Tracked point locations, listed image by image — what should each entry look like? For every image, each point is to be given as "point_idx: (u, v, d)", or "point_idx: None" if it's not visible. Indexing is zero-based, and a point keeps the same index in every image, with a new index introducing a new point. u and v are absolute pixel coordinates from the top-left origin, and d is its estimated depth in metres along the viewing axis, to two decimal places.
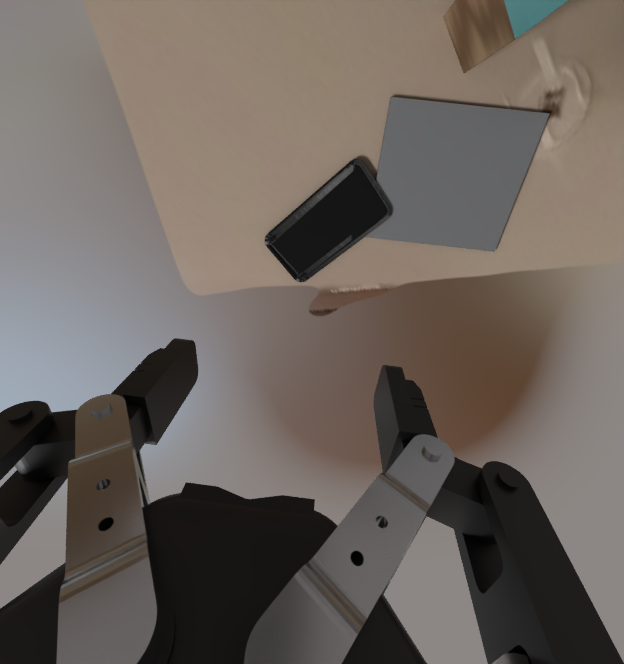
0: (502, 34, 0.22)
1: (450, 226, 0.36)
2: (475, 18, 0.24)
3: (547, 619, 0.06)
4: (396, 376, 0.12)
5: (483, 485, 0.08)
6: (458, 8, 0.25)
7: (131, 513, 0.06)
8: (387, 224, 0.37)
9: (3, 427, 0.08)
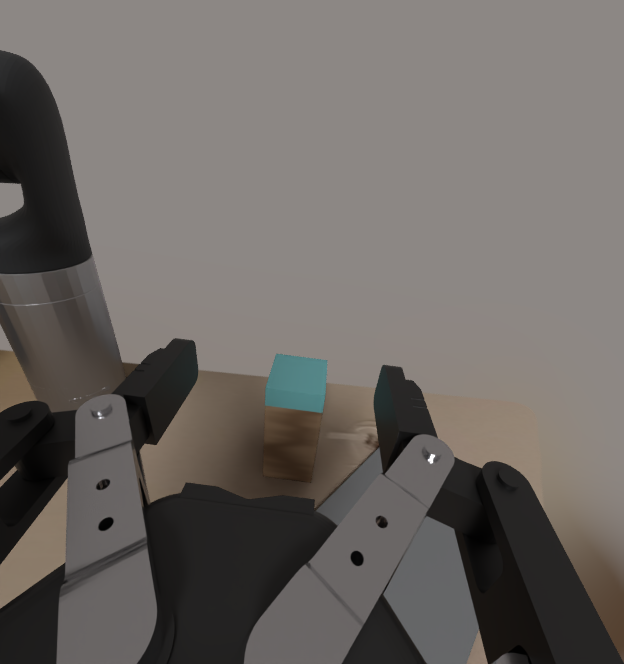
0: (312, 422, 0.27)
1: (458, 574, 0.25)
2: (286, 442, 0.28)
3: (547, 619, 0.06)
4: (396, 376, 0.12)
5: (483, 485, 0.08)
6: (270, 455, 0.30)
7: (131, 513, 0.06)
8: None
9: (3, 427, 0.08)
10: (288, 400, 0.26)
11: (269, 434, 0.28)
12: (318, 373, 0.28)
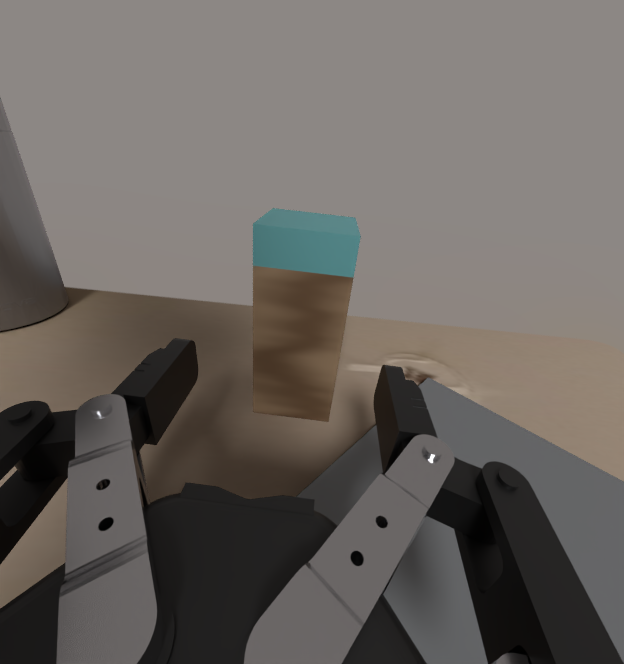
0: (335, 300, 0.16)
1: (606, 559, 0.14)
2: (290, 344, 0.17)
3: (547, 619, 0.06)
4: (396, 376, 0.12)
5: (483, 485, 0.08)
6: (263, 372, 0.18)
7: (130, 513, 0.06)
8: None
9: (3, 427, 0.08)
10: (294, 251, 0.15)
11: (261, 330, 0.17)
12: (343, 223, 0.16)
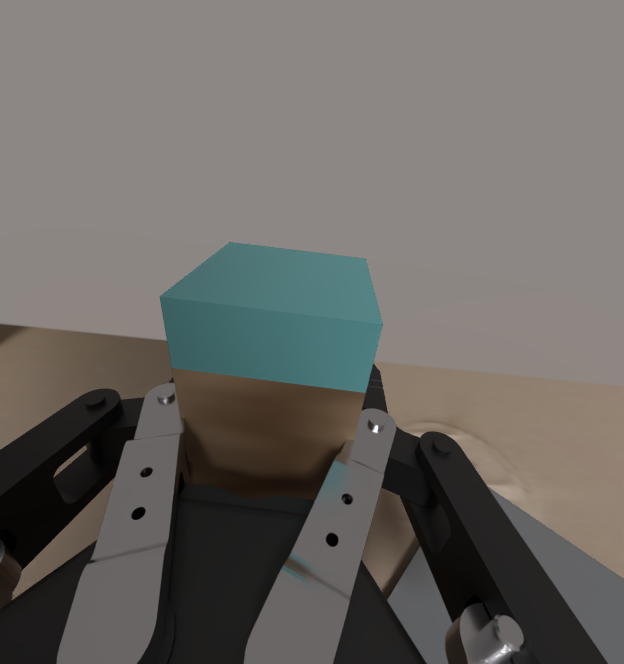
0: (331, 426, 0.08)
1: None
2: (254, 482, 0.10)
3: (494, 566, 0.06)
4: None
5: (423, 457, 0.08)
6: None
7: (161, 509, 0.06)
8: None
9: (80, 410, 0.09)
10: (249, 347, 0.07)
11: (202, 462, 0.10)
12: (346, 276, 0.09)
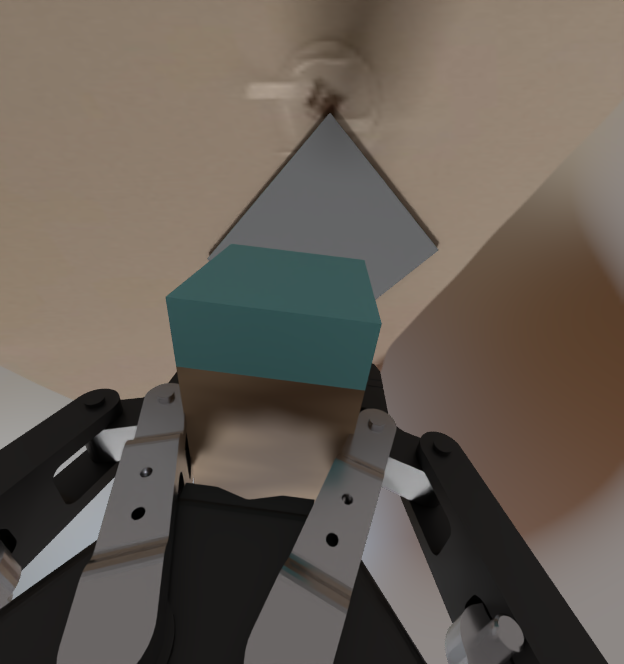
0: (331, 423, 0.09)
1: None
2: (255, 478, 0.10)
3: (494, 566, 0.06)
4: None
5: (423, 457, 0.08)
6: None
7: (161, 509, 0.06)
8: None
9: (80, 410, 0.09)
10: (252, 346, 0.07)
11: (205, 459, 0.10)
12: (345, 278, 0.09)
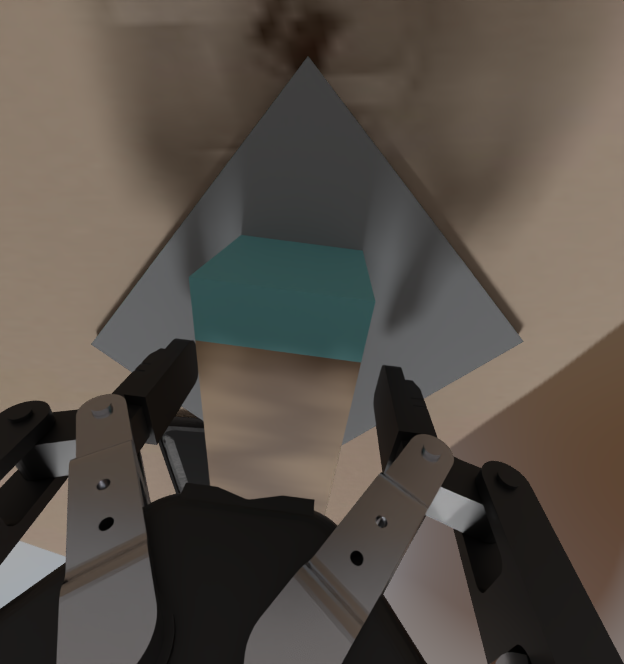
0: (331, 393, 0.10)
1: None
2: (262, 446, 0.11)
3: (547, 619, 0.06)
4: (396, 376, 0.12)
5: (483, 485, 0.08)
6: (224, 478, 0.12)
7: (131, 513, 0.06)
8: None
9: (4, 427, 0.08)
10: (262, 321, 0.09)
11: (217, 427, 0.11)
12: (345, 265, 0.10)
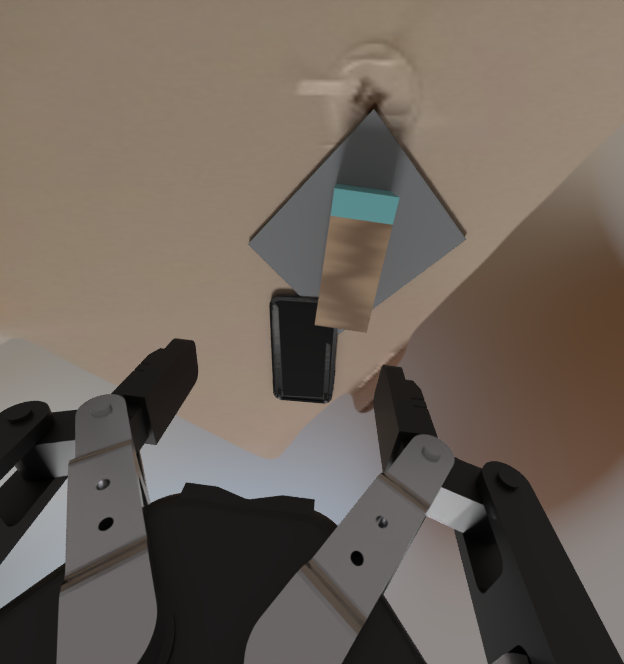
0: (380, 240, 0.25)
1: (396, 263, 0.30)
2: (347, 272, 0.26)
3: (547, 619, 0.06)
4: (396, 376, 0.12)
5: (483, 485, 0.08)
6: (326, 293, 0.27)
7: (130, 513, 0.06)
8: None
9: (3, 427, 0.08)
10: (357, 206, 0.24)
11: (329, 261, 0.26)
12: (385, 192, 0.25)
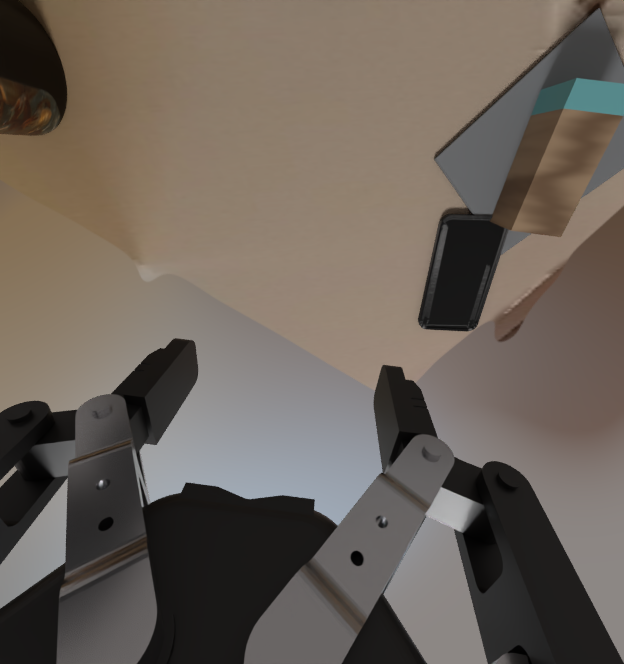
0: (605, 134, 0.26)
1: None
2: (561, 170, 0.28)
3: (547, 619, 0.05)
4: (396, 376, 0.12)
5: (483, 485, 0.08)
6: (533, 194, 0.29)
7: (131, 513, 0.06)
8: None
9: (3, 427, 0.08)
10: (594, 97, 0.25)
11: (547, 159, 0.27)
12: None
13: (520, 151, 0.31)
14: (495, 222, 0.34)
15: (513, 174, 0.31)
